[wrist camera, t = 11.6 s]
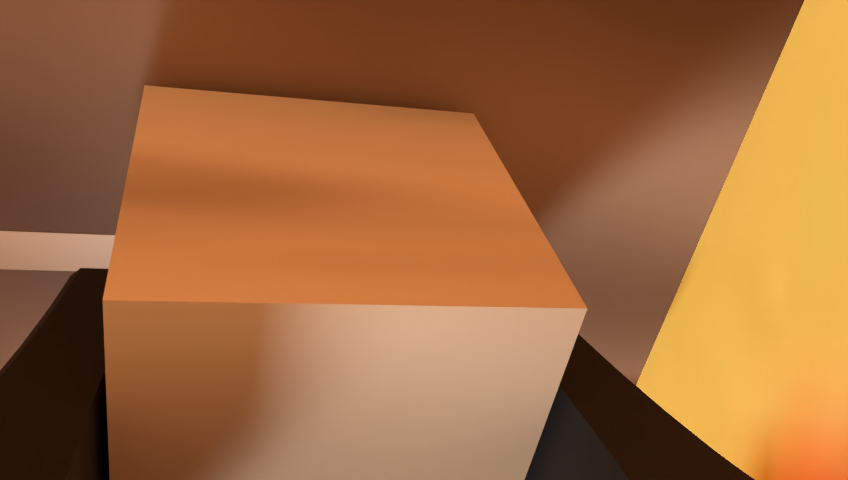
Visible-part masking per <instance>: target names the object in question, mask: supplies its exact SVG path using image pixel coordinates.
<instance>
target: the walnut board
mask: <svg viewBox="0 0 848 480" xmlns="http://www.w3.org/2000/svg"><path fill="white" fill-rule="evenodd" d="M803 2H804V0H0V370H1V369H2V368H3V366H4V365H5V364H6V363H7V362H8V360H9V359H10V358H11V357H12V356H13V354H14V353H15V352H16V351H17V350H18V348H19V347H20V346H21V344H22V343H23V342H24V341H25V339H26V338H27V337H28V335H29V334H30V333H31V331H32V330H33V329H34V327H35V326H36V325H37V324H38V322H39V321H40V319H41V318H42V317H43V315H44V314H45V313H46V311H47V310H48V308H49V307H50V306H51V304H52V303H53V301H54V300H55V298H56V297H57V295H58V294H59V293H60V291H61V290H62V288H63V287H64V285H65V283H66V282H67V280H68V279H69V277H70V276H71V275H72V274H73V273H75V272H76V271H77V270H79V269H80V268H100V269H109V265H110V259H111V254H112V249H113V244H114V239H115V234H116V229H117V224H118V218H119V213H120V208H121V203H122V198H123V193H124V188H125V183H126V177H127V172H128V167H129V162H130V157H131V152H132V147H133V142H134V137H135V131H136V126H137V121H138V116H139V111H140V106H141V101H142V96H143V90H144V85H147V86H159V87H170V88H182V89H194V90H205V91H217V92H229V93H240V94H252V95H264V96H275V97H287V98H299V99H311V100H322V101H334V102H346V103H357V104H369V105H381V106H392V107H404V108H416V109H427V110H439V111H451V112H463V113H474V115H475V117H476V119H477V120H478V122H479V124H480V125H481V127H482V129H483V131H484V132H485V134H486V136H487V137H488V139H489V141H490V143H491V144H492V146H493V148H494V149H495V151H496V153H497V155H498V156H499V158H500V160H501V161H502V163H503V165H504V167H505V168H506V170H507V172H508V173H509V175H510V177H511V179H512V180H513V182H514V184H515V185H516V187H517V189H518V190H519V192H520V194H521V196H522V197H523V199H524V201H525V202H526V204H527V206H528V208H529V209H530V211H531V213H532V214H533V216H534V218H535V220H536V221H537V223H538V225H539V226H540V228H541V230H542V232H543V233H544V235H545V237H546V238H547V240H548V242H549V244H550V245H551V247H552V249H553V250H554V252H555V254H556V256H557V257H558V259H559V261H560V262H561V264H562V266H563V267H564V269H565V271H566V273H567V274H568V276H569V278H570V279H571V281H572V283H573V285H574V286H575V288H576V290H577V291H578V293H579V295H580V297H581V298H582V300H583V302H584V303H585V305H586V307H587V311H586V314H585V317H584V319H583V322H582V325H581V328H580V330H579V333H578V334H579V335H580V336H581V337H582V338H584V339H585V340H586V341H587V342H588V343H589V344H590V345H591V346H592V347H593V348H594V349H595V350H596V351H598V352H599V353H600V354H601V355H602V356H603V357H604V358H605V359H606V360H607V361H609V362H610V363H611V364H612V365H613V366H614V367H615V368H616V369H617V370H619V371H620V372H621V373H622V374H623V375H624V376H625V377H626V378H627V379H629V380H630V381H631V382H632V383H633V384H634V385H635V386H636V383H637V381H638V379H639V377H640V374H641V372H642V370H643V367H644V365H645V363H646V361H647V358H648V356H649V354H650V351H651V349H652V347H653V345H654V342H655V340H656V338H657V335H658V333H659V331H660V329H661V326H662V324H663V322H664V319H665V317H666V315H667V313H668V310H669V308H670V306H671V303H672V301H673V299H674V297H675V294H676V292H677V290H678V287H679V285H680V283H681V281H682V278H683V276H684V274H685V271H686V269H687V267H688V265H689V262H690V260H691V258H692V255H693V253H694V251H695V249H696V246H697V244H698V242H699V239H700V237H701V235H702V233H703V230H704V228H705V226H706V223H707V221H708V219H709V217H710V214H711V212H712V210H713V207H714V205H715V203H716V201H717V198H718V196H719V194H720V191H721V189H722V187H723V185H724V182H725V180H726V178H727V175H728V173H729V171H730V169H731V166H732V164H733V162H734V159H735V157H736V155H737V153H738V150H739V148H740V146H741V143H742V141H743V139H744V137H745V134H746V132H747V130H748V127H749V125H750V123H751V121H752V118H753V116H754V114H755V111H756V109H757V107H758V105H759V102H760V100H761V98H762V95H763V93H764V91H765V89H766V86H767V84H768V82H769V79H770V77H771V75H772V73H773V70H774V68H775V66H776V63H777V61H778V59H779V57H780V54H781V52H782V50H783V47H784V45H785V43H786V41H787V38H788V36H789V34H790V31H791V29H792V27H793V25H794V22H795V20H796V18H797V15H798V13H799V11H800V9H801V6H802V4H803Z"/></svg>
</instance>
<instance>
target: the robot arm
mask: <svg viewBox="0 0 848 480" xmlns="http://www.w3.org/2000/svg"><path fill="white" fill-rule="evenodd" d="M108 270H109V269H100V268H80V269H79V270H77V271H76V272H75V273H73V274H72V275H71V276H70V277H69V279H68V280H67V282H66V283H65V285H64V287H63V288H62V290H61V291H60V293H59V294H58V295H57V297H56V298H55V300H54V301H53V303H52V304H51V306H50V307H49V308H48V310H47V311H46V313H45V314H44V315H43V317H42V318H41V319H40V321H39V322H38V324H37V325H36V326H35V327H34V329H33V330H32V331H31V333H30V334H29V335H28V337H27V338H26V339H25V341H24V342H23V343H22V344H21V346H20V347H19V348H18V350H17V351H16V352H15V353H14V354H13V356H12V357H11V358H10V359H9V360H8V362H7V363H6V364H5V365H4V366H3V368H2V369H1V370H0V480H110V476H109V450H108V425H107V400H106V375H105V349H104V324H103V295H104V290H105V285H106V280H107V275H108ZM525 480H754V479H753V478H751V477H750V476H749V475H747V474H746V473H744V472H743V471H741V470H740V469H739V468H737V467H736V466H734V465H733V464H732V463H730V462H729V461H728V460H726V459H725V458H724V457H722V456H721V455H720V454H718V453H717V452H716V451H714V450H713V449H712V448H711V447H709V446H708V445H707V444H705V443H704V442H703V441H702V440H700V439H699V438H698V437H697V436H696V435H694V434H693V433H692V432H691V431H689V430H688V429H687V428H686V427H684V426H683V425H682V424H681V423H679V422H678V421H677V420H676V419H674V418H673V417H672V416H671V415H669V414H668V413H667V412H666V411H665V410H663V409H662V408H661V407H660V406H659V405H658V404H656V403H655V402H654V401H653V400H652V399H650V398H649V397H648V396H647V395H646V394H645V393H643V392H642V391H641V390H640V389H639V388H638V387H637V386H635V385H634V384H633V383H632V382H631V381H630V380H629V379H627V378H626V377H625V376H624V375H623V374H622V373H621V372H620V371H619V370H617V369H616V368H615V367H614V366H613V365H612V364H611V363H610V362H609V361H607V360H606V359H605V358H604V357H603V356H602V355H601V354H600V353H599V352H598V351H596V350H595V349H594V348H593V347H592V346H591V345H590V344H589V343H588V342H587V341H586V340H585V339H584V338H582V337H581V336H580V335H579V334H578V336H577V338H576V341H575V344H574V347H573V349H572V352H571V355H570V357H569V360H568V363H567V366H566V368H565V371H564V374H563V377H562V379H561V382H560V385H559V387H558V390H557V393H556V396H555V398H554V401H553V404H552V406H551V409H550V412H549V415H548V417H547V420H546V423H545V425H544V428H543V431H542V434H541V436H540V439H539V442H538V444H537V447H536V450H535V453H534V455H533V458H532V461H531V464H530V466H529V469H528V472H527V474H526V477H525Z"/></svg>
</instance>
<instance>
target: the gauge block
mask: <svg viewBox="0 0 848 480" xmlns="http://www.w3.org/2000/svg"><path fill="white" fill-rule="evenodd" d="M586 311H587V307H586V305H585V303H584V302H583V300H582V298H581V297H580V295H579V293H578V291H577V290H576V288H575V286H574V285H573V283H572V281H571V279H570V278H569V276H568V274H567V273H566V271H565V269H564V267H563V266H562V264H561V262H560V261H559V259H558V257H557V256H556V254H555V252H554V250H553V249H552V247H551V245H550V244H549V242H548V240H547V238H546V237H545V235H544V233H543V232H542V230H541V228H540V226H539V225H538V223H537V221H536V220H535V218H534V216H533V214H532V213H531V211H530V209H529V208H528V206H527V204H526V202H525V201H524V199H523V197H522V196H521V194H520V192H519V190H518V189H517V187H516V185H515V184H514V182H513V180H512V179H511V177H510V175H509V173H508V172H507V170H506V168H505V167H504V165H503V163H502V161H501V160H500V158H499V156H498V155H497V153H496V151H495V149H494V148H493V146H492V144H491V143H490V141H489V139H488V137H487V136H486V134H485V132H484V131H483V129H482V127H481V125H480V124H479V122H478V120H477V119H476V117H475V115H474V113H463V112H451V111H439V110H427V109H416V108H404V107H392V106H381V105H369V104H357V103H346V102H334V101H322V100H311V99H299V98H287V97H275V96H264V95H252V94H240V93H229V92H217V91H205V90H194V89H182V88H170V87H159V86H147V85H144V90H143V96H142V101H141V106H140V111H139V116H138V121H137V126H136V131H135V137H134V142H133V147H132V152H131V157H130V162H129V167H128V172H127V177H126V183H125V188H124V193H123V198H122V203H121V208H120V213H119V218H118V224H117V229H116V234H115V239H114V244H113V249H112V254H111V259H110V265H109V270H108V275H107V280H106V285H105V290H104V295H103V324H104V349H105V375H106V400H107V425H108V450H109V476H110V480H525V477H526V474H527V472H528V469H529V466H530V464H531V461H532V458H533V455H534V453H535V450H536V447H537V444H538V442H539V439H540V436H541V434H542V431H543V428H544V425H545V423H546V420H547V417H548V415H549V412H550V409H551V406H552V404H553V401H554V398H555V396H556V393H557V390H558V387H559V385H560V382H561V379H562V377H563V374H564V371H565V368H566V366H567V363H568V360H569V357H570V355H571V352H572V349H573V347H574V344H575V341H576V338H577V336H578V333H579V330H580V328H581V325H582V322H583V319H584V317H585V314H586Z"/></svg>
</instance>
